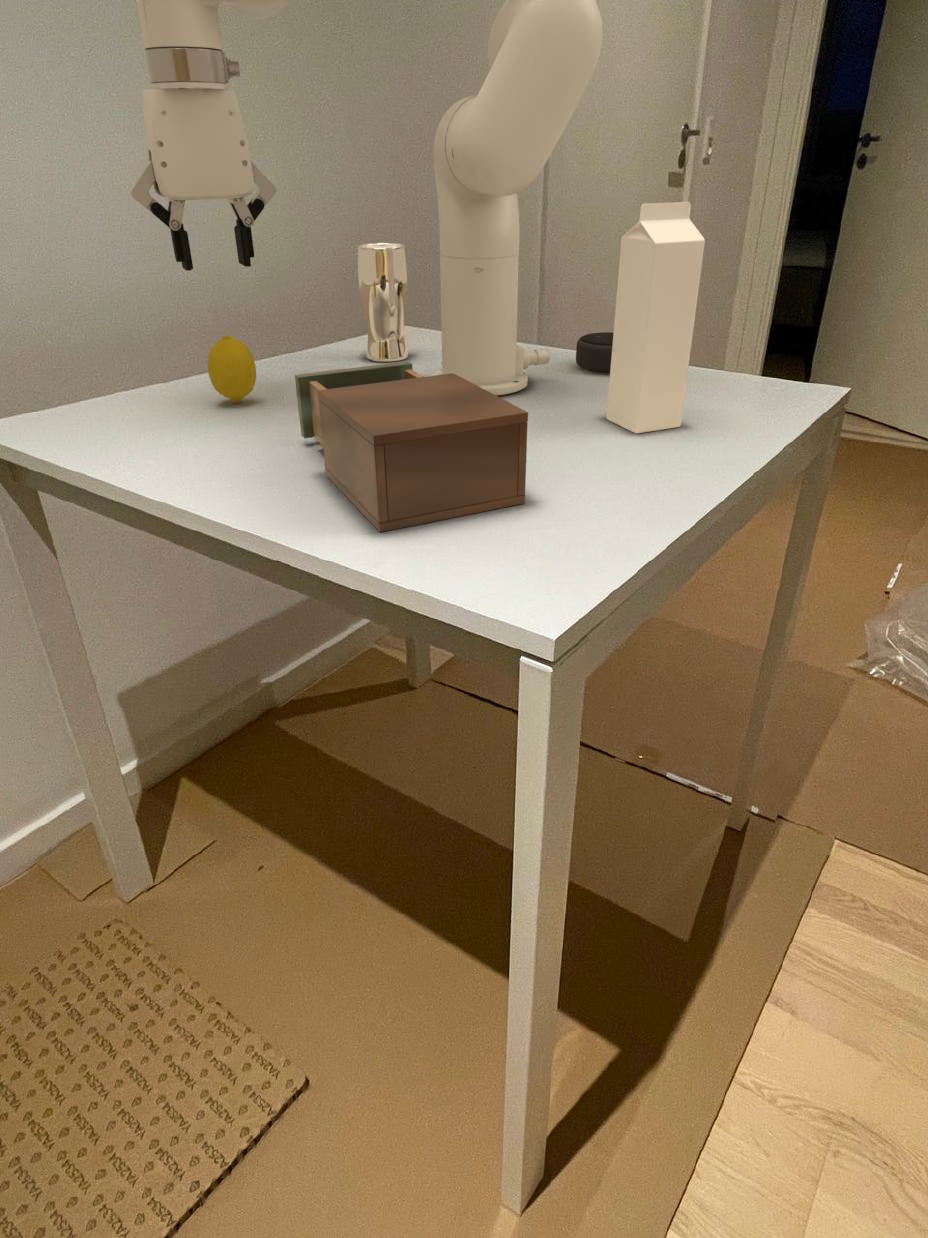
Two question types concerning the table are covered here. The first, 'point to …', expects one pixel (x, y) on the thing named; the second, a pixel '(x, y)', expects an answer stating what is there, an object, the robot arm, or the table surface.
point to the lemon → (231, 368)
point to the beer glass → (384, 299)
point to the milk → (654, 318)
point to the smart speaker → (595, 352)
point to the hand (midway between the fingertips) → (216, 265)
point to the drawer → (336, 379)
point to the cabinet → (423, 449)
